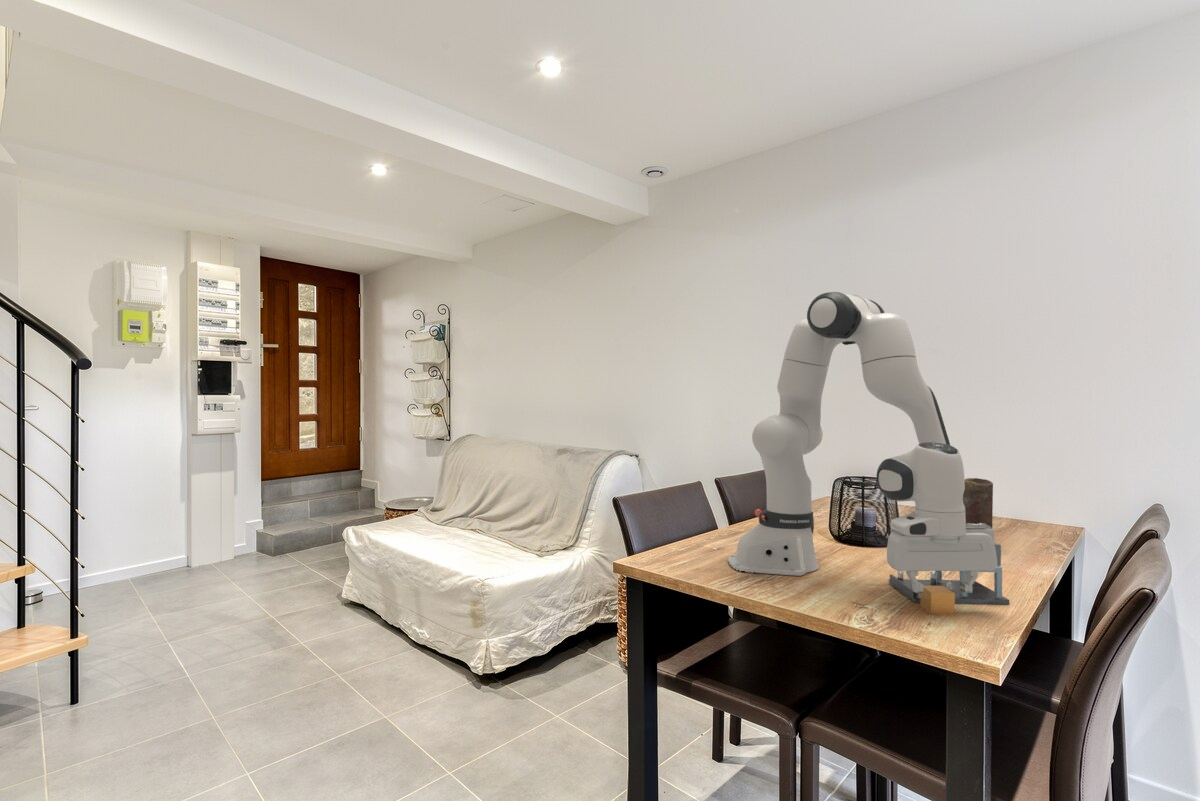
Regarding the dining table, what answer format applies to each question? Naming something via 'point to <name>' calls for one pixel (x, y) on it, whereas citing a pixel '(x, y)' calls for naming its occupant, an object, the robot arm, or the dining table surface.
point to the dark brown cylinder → (978, 501)
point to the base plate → (976, 597)
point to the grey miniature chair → (996, 571)
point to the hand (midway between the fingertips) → (942, 592)
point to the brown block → (938, 600)
